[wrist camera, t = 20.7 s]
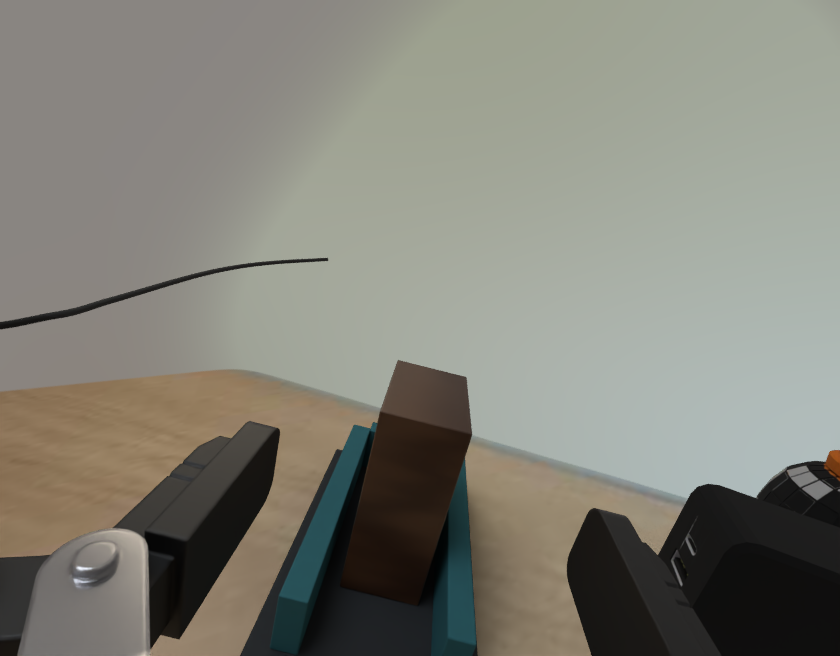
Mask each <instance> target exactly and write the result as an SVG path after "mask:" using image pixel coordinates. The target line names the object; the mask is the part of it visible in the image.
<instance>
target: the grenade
mask: <svg viewBox="0 0 840 656" xmlns="http://www.w3.org/2000/svg"><path fill="white" fill-rule="evenodd" d="M757 499H760V500H762V501H765V502H768V503H771V504H774V505H777V506H780V507H782V508H785V509H788V510H791V511H794V512H797V513H799V514H802V515H805V516H808V517H811V518H814V519H817V520H819V521H822V522H825V523H828V524H831V525H834V526H837V527H839V528H840V450H834V451H830V452H829V455H828V457H827V460H826V462H821V461H811V462H804V463H800V464H796V465H791V466H789V467H786V468H785V469H784V470H782V471H781V472H779V473H778V474H776V475H775V476H774V477H773V478H772V479H770V481H769V482H768V483H767V484H766V485H765V486H764V488H763V489H762V490H761V492H759V494H758V495H757Z"/></svg>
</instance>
